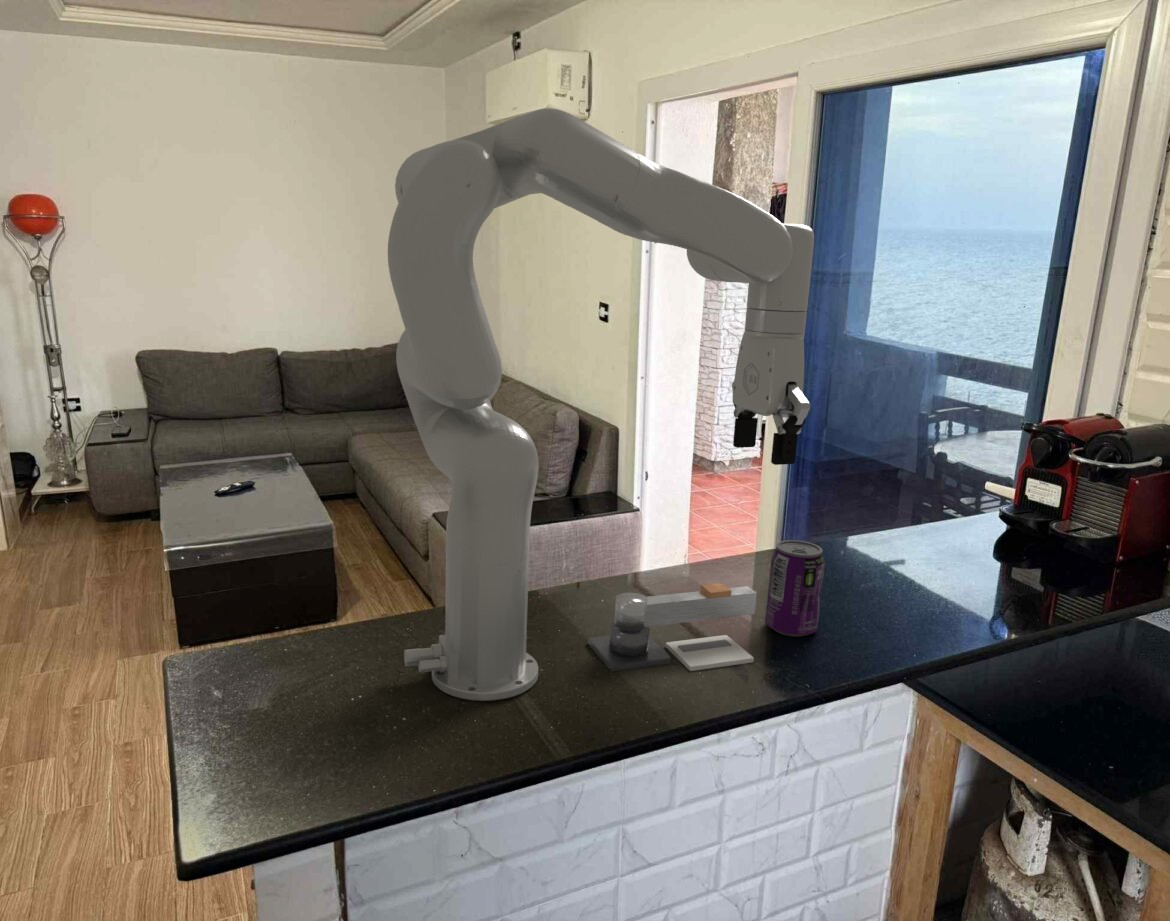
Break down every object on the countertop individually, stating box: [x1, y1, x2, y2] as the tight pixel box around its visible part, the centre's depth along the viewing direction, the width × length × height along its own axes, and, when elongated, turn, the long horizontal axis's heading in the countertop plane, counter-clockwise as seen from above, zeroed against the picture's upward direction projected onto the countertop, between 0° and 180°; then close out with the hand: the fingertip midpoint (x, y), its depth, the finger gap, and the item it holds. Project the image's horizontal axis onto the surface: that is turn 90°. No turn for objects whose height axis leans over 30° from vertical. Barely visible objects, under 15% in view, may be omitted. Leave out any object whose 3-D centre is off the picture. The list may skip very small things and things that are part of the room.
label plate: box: [665, 634, 755, 672], centre depth 111 cm, size 9×7×1 cm
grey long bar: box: [613, 582, 758, 631], centre depth 112 cm, size 20×4×4 cm, turn 110°
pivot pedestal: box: [587, 622, 671, 673], centre depth 110 cm, size 8×8×4 cm
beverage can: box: [764, 539, 826, 638], centre depth 119 cm, size 7×7×12 cm
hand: (762, 455), depth 114 cm, fingers open, 9 cm apart
